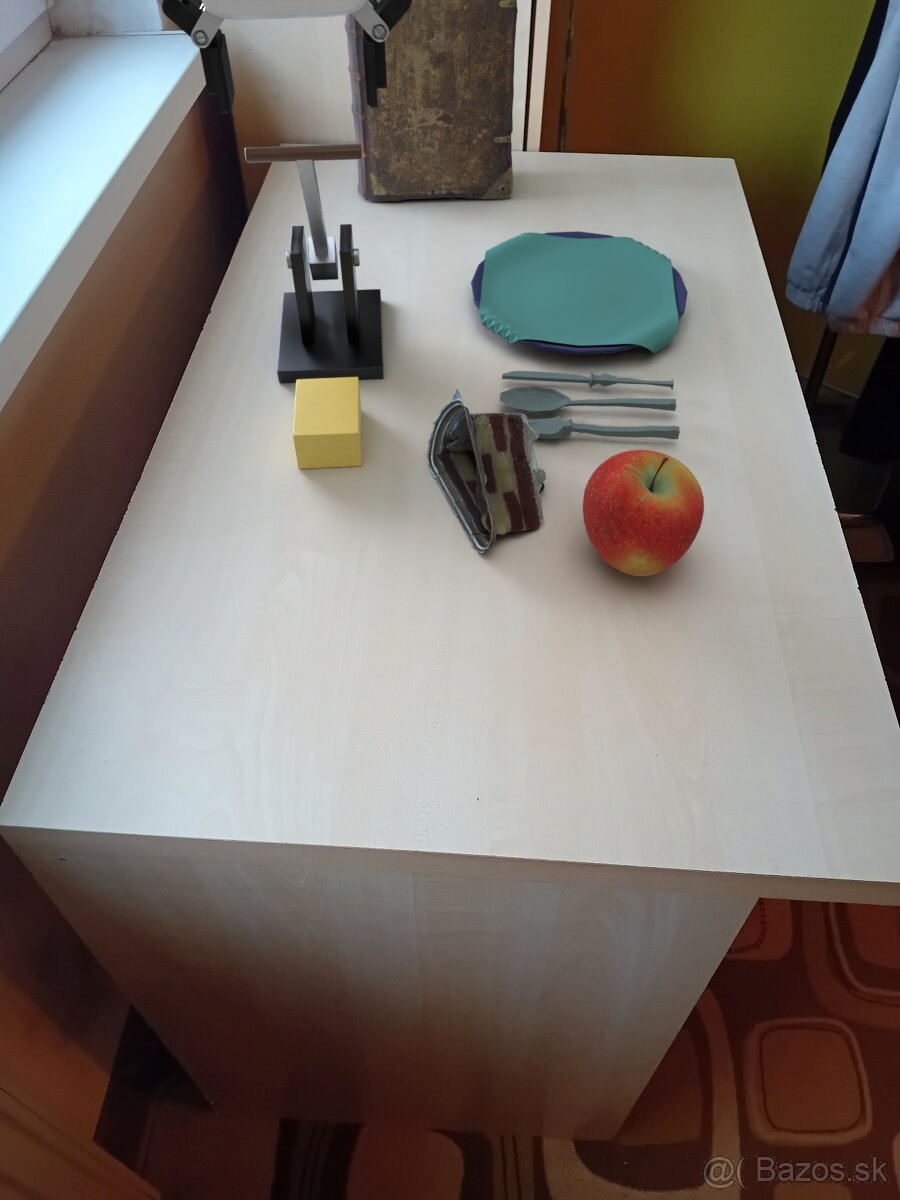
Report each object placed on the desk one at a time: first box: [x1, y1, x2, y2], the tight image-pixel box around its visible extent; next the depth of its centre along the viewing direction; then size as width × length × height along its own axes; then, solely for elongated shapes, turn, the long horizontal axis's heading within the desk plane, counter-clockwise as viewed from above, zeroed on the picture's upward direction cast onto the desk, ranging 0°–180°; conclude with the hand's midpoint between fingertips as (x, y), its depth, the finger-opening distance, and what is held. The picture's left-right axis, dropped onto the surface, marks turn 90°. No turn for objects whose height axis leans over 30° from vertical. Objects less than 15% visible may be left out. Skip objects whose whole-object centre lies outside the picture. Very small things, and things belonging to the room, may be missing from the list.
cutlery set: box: [470, 230, 688, 440], centre depth 86 cm, size 20×30×2 cm, turn 175°
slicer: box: [276, 223, 385, 384], centre depth 83 cm, size 12×9×10 cm
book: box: [344, 0, 519, 202], centre depth 95 cm, size 17×7×25 cm, turn 90°
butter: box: [292, 377, 363, 470], centre depth 77 cm, size 5×7×3 cm
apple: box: [582, 449, 705, 577], centre depth 66 cm, size 8×8×10 cm
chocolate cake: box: [426, 389, 547, 554], centre depth 73 cm, size 10×7×12 cm
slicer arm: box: [244, 143, 362, 281], centre depth 74 cm, size 16×8×2 cm
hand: (300, 101), depth 64 cm, fingers open, 9 cm apart
